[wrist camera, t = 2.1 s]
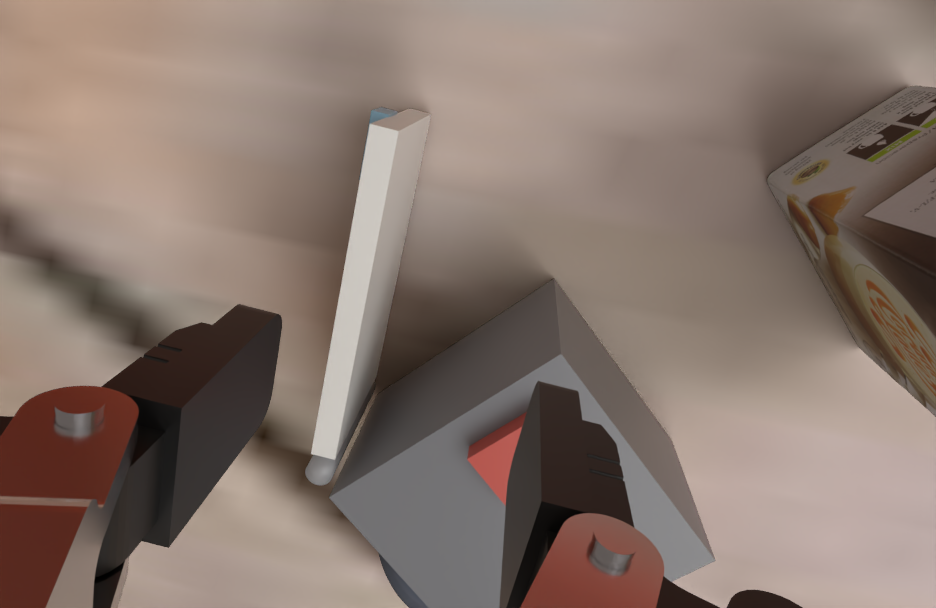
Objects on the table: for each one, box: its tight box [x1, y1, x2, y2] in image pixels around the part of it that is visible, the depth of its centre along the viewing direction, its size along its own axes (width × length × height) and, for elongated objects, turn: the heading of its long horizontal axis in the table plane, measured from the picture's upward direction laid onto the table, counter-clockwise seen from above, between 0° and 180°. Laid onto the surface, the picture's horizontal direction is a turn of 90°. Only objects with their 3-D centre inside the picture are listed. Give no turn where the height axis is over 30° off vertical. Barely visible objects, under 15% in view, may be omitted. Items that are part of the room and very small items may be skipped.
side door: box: [305, 107, 431, 485], centre depth 26 cm, size 2×13×7 cm, turn 167°
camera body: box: [329, 279, 715, 608], centre depth 28 cm, size 10×11×9 cm
